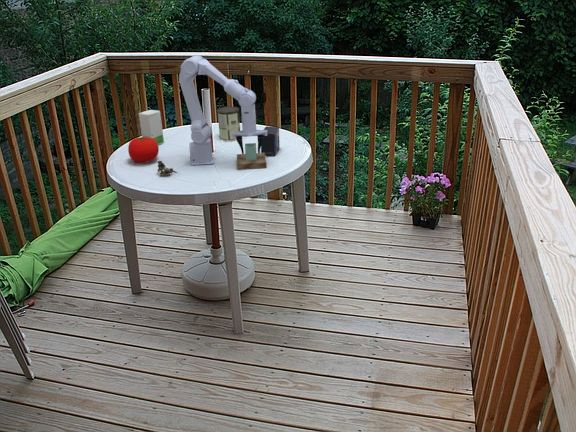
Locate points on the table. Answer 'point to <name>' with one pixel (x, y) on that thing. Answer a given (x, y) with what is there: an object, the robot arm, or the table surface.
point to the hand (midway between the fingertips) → (250, 152)
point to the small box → (270, 141)
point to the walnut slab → (251, 162)
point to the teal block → (250, 151)
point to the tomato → (143, 149)
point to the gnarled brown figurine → (166, 170)
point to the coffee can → (228, 122)
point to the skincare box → (151, 125)
